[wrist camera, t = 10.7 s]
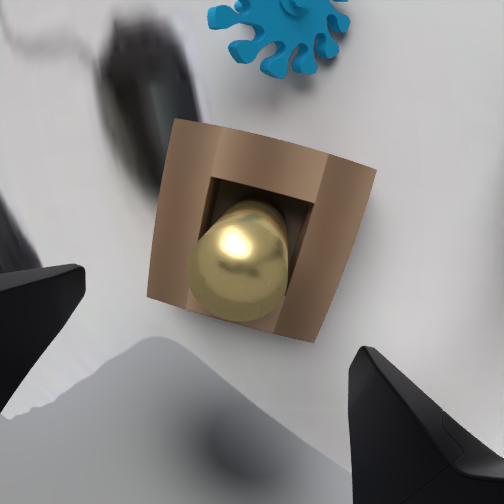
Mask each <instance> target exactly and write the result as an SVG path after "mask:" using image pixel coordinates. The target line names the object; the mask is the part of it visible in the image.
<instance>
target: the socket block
mask: <svg viewBox="0 0 504 504" xmlns="http://www.w3.org/2000/svg"><path fill="white" fill-rule="evenodd" d="M376 171H377V170H376V169H373V168H370V167H367V166H364V165H361V164H359V163H356V162H353V161H350V160H347V159H344V158H340V157H337V156H334V155H331V154H328V153H324V152H321V151H318V150H314V149H311V148H308V147H304V146H300V145H297V144H293V143H290V142H286V141H282V140H278V139H274V138H270V137H266V136H262V135H258V134H254V133H249V132H245V131H240V130H236V129H231V128H226V127H221V126H216V125H211V124H205V123H200V122H194V121H188V120H182V119H176V118H175V119H174V123H173V127H172V132H171V136H170V141H169V146H168V151H167V156H166V161H165V166H164V171H163V177H162V182H161V188H160V194H159V200H158V206H157V213H156V220H155V227H154V234H153V242H152V250H151V259H150V268H149V278H148V288H147V297H149V298H152V299H155V300H158V301H161V302H164V303H167V304H170V305H174V306H177V307H180V308H183V309H187V310H190V311H193V312H196V313H200V314H203V315H207V316H210V317H213V318H217V319H220V320H224V321H228V322H231V323H235V324H239V325H242V326H246V327H250V328H254V329H257V330H261V331H265V332H269V333H273V334H277V335H281V336H286V337H290V338H294V339H298V340H303V341H307V342H312V343H314V342H315V339H316V337H317V335H318V333H319V330H320V328H321V326H322V323H323V321H324V318H325V316H326V314H327V311H328V309H329V306H330V304H331V301H332V299H333V296H334V294H335V291H336V289H337V286H338V284H339V281H340V279H341V276H342V273H343V271H344V268H345V265H346V263H347V260H348V257H349V254H350V252H351V249H352V246H353V243H354V240H355V237H356V234H357V231H358V229H359V226H360V223H361V220H362V216H363V213H364V210H365V207H366V204H367V201H368V198H369V194H370V191H371V188H372V184H373V181H374V178H375V174H376ZM251 195H260V196H264V197H267V198H269V199H272V200H273V201H275V202H276V203H277V204H278V205H279V206H280V207H281V208H282V210H283V211H284V213H285V216H286V219H287V227H288V281H287V288H286V291H285V294H284V296H283V298H282V300H281V301H280V303H279V304H278V305H277V306H276V307H275V308H274V309H273V310H272V311H271V312H269V313H268V314H266V315H265V316H263V317H260V318H258V319H255V320H251V321H230V320H226V319H223V318H220V317H218V316H215V315H213V314H212V313H210V312H209V311H207V310H206V309H205V308H203V307H202V306H201V305H200V304H199V303H198V301H197V300H196V299H195V297H194V296H193V294H192V292H191V290H190V288H189V285H188V282H187V276H186V266H187V261H188V257H189V255H190V252H191V250H192V249H193V247H194V246H195V244H196V243H197V242H198V241H199V240H200V239H201V238H202V237H203V236H204V234H205V233H206V232H207V231H208V230H209V229H210V228H211V227H212V226H213V225H214V224H215V223H216V222H217V221H218V220H219V219H220V218H221V217H222V216H223V215H224V213H225V212H226V211H227V210H228V209H229V208H230V207H231V206H232V205H233V204H234V203H235V202H237V201H238V200H240V199H242V198H244V197H247V196H251Z"/></svg>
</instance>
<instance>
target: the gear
mask: <svg viewBox="0 0 504 504" xmlns="http://www.w3.org/2000/svg"><path fill="white" fill-rule="evenodd" d="M333 1H336V2H347V1H348V0H333ZM234 7H235V10H236V11H237V12H239V13H241V14H240V15H239V14H238V13H236V12H235V11H234V10H233V9H232V8H231V7H229V6H226V5H221V6H216V7H212V8H210V9H209V10H208V16H207V18H208V25H209V28H210V29H213V30H218V29H226V28H229V27H231V26H232V25H234V24H237V23H242V24H247V25H250V26H252V27H253V28H254V29H255V32H256V35H255V38H254V39H253V40H252V41H249V40H237V41H233V42H232V43H230V44H229V46H228V49H229V52H230V54H231V56H232V57H233V58H234V60H235V61H236V62H237V63H244V64H247V63H250V62H252V61H253V60H254V59H255V58H256V56H257V54H258V52H259V51H260V50H261V49H262V48H263V47H264V46H266V45H267V44H269V43H271V42H275V44H276V46H277V51H276V53H275V54H274V55H273V56H271V57H268V58H266V59H264V60H263V61H262V63H261V65H260V70H261V71H262V72H263V73H265V74H267V75H269V76H271V77H275V78H280V79H283V78H284V77H285V76H286V74H287V70H288V61H289V57H290V55H291V53H292V52H293V50H294V49H295V48H296V46H297V45H298V46H299V53H298V55H297V56H296V58H295V59H294V60H293V62H292V70H293V72H297V73H302V74H314V73H316V70H317V64H316V61H315V58H314V52H313V50H314V42H315V37H316V36H317V45H316V53H317V55H318V56H319V57H323V58H332V57H334V56H335V55H336V54H337V53H338V52H339V47H338V45H337V43H336V42H335V41H334V40H333V39H332V37H331V36H330V33H329V31H328V27H327V22H326V19H328V23H329V27H330V29H331V30H332V31H335V32H344V33H345V32H346V31H347V29H348V27H349V24H350V19H349V17H347V16H346V15H343V14H340V13H339V12H337V11H336V10H335V9H334V8H333V6H332V5H331V3H330V2H329V0H238V1H237V2H236V3H235V5H234Z"/></svg>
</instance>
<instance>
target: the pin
mask: <svg viewBox="0 0 504 504" xmlns="http://www.w3.org/2000/svg"><path fill="white" fill-rule="evenodd" d="M186 276H187V282H188V285H189V288H190V290H191V292H192V294H193V296H194V297H195V299H196V300H197V301H198V303H199V304H200V305H201V306H202V307H203V308H205V309H206V310H207V311H209V312H210V313H212V314H213V315H215V316H218V317H220V318H223V319H226V320H230V321H251V320H255V319H258V318H260V317H263V316H265V315H266V314H268V313H269V312H271V311H272V310H273V309H274V308H275V307H276V306H277V305H278V304H279V303H280V301H281V300H282V298H283V296H284V294H285V291H286V288H287V281H288V227H287V219H286V216H285V213H284V211H283V210H282V208H281V207H280V206H279V205H278V204H277V203H276V202H275V201H273V200H272V199H269V198H267V197H264V196H260V195H251V196H247V197H244V198H242V199H240V200H238V201H237V202H235V203H234V204H233V205H232V206H231V207H230V208H229V209H228V210H227V211H226V212H225V213H224V215H223V216H222V217H221V218H220V219H219V220H218V221H217V222H216V223H215V224H214V225H213V226H212V227H211V228H210V229H209V230H208V231H207V232H206V233H205V234H204V236H203V237H202V238H201V239H200V240H199V241H198V242H197V243H196V244H195V246H194V247H193V249H192V250H191V252H190V255H189V257H188V261H187V266H186Z"/></svg>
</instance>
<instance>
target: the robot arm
mask: <svg viewBox="0 0 504 504" xmlns="http://www.w3.org/2000/svg"><path fill="white" fill-rule="evenodd" d="M85 291H86V281H85V269H84V267H82V266H80V265H77V264H66V265H59V266H52V267H45V268H38V269H31V270H25V271H18V272H11V273H4V274H0V413H1V411H2V410H3V408H4V407H5V405H6V404H7V402H8V401H9V399H10V398H11V396H12V395H13V394H14V392H15V391H16V389H17V388H18V386H19V385H20V383H21V382H22V381H23V379H24V378H25V376H26V375H27V374H28V372H29V371H30V370H31V368H32V367H33V366H34V364H35V363H36V362H37V360H38V359H39V358H40V356H41V355H42V354H43V352H44V351H45V350H46V348H47V347H48V346H49V345H50V343H51V342H52V341H53V339H54V338H55V337H56V336H57V334H58V333H59V332H60V331H61V329H62V328H63V327H64V325H65V324H66V322H67V321H68V319H69V318H70V316H71V314H72V313H73V311H74V310H75V308H76V307H77V305H78V304H79V303H80V301H81V300H82V298H83V297H84V294H85ZM348 420H349V432H350V446H351V463H352V484H353V504H504V458H502V457H500V456H499V455H497V454H496V453H495V452H493V451H492V450H491V449H490V448H488V447H487V446H486V445H484V444H483V443H482V442H481V441H479V440H478V439H477V438H475V437H474V436H473V435H472V434H470V433H469V432H468V431H467V430H466V429H464V428H463V427H462V426H461V425H460V424H458V423H457V422H456V421H455V420H454V419H453V418H452V417H450V416H449V415H448V414H447V413H446V412H445V411H443V409H442V408H441V407H439V406H438V405H437V404H436V403H435V402H434V401H433V400H432V399H431V398H429V397H428V396H427V395H426V394H425V393H424V392H423V391H422V390H421V389H420V388H418V387H417V386H416V385H415V384H414V383H413V382H412V381H411V380H410V379H408V378H407V377H406V376H405V375H404V374H403V373H402V372H401V371H400V370H398V369H397V368H396V367H395V366H394V365H393V364H392V363H391V362H389V361H388V360H387V359H386V358H385V357H384V356H383V355H382V354H381V353H379V352H378V351H377V350H376V349H375V348H373V347H368V346H362V347H360V349H359V350H358V352H357V354H356V356H355V358H354V360H353V361H352V363H351V365H350V368H349V382H348Z"/></svg>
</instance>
